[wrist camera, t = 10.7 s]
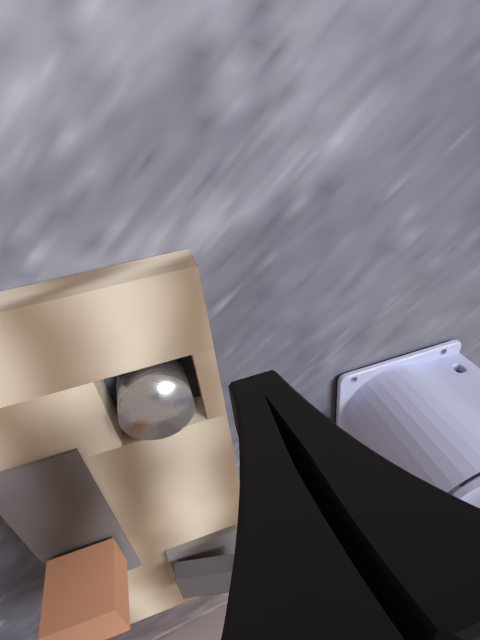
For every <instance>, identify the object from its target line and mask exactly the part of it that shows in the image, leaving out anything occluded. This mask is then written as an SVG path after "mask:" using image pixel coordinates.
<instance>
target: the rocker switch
mask: <svg viewBox="0 0 480 640" xmlns="http://www.w3.org/2000/svg"><path fill="white" fill-rule="evenodd" d="M233 562H234V554H229V555H222V556H215V557H208V558H201V559H195V560H188V561H181V562H175V575H174V580H175V582H176V584H177V587H178V589H179V591H180V593H181V595H182V597H183V599H187V598H193V597H200V596H207V595H214V594H221V593H227V592H229V590H230V583H231V576H232V569H233Z"/></svg>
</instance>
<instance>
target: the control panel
mask: <svg viewBox="0 0 480 640" xmlns="http://www.w3.org/2000/svg"><path fill="white" fill-rule="evenodd" d="M189 355H191V358H192V362H193V366H194V371H195V375H196V379H197V383H198V387H199V391H200V395H201V396H198V397H194V398H193V399H194V403H195V411H194V415H193V417H192V419H191V421H190V422H189V423H188V424H187V425H186V427H184V428H183V429H182V430H181V431H179V432H178V433H176V434H174V435H172V436H169V437H167V438H163V439H159V440H141V439H136V438H133V437H131V436H129V435H128V434H126V433H125V432H124V431H123V430H122V429H121V427H120V425H119V423H118V414H117V410H116V407H115V405H114V403H113V400H112V398H111V396H110V393H109V391H108V389H107V386H106V384H105V382H104V379H106V378H110V377H114V376H117V375H121V374H124V373H128V372H132V371H135V370H139V369H142V368H146V367H150V366H153V365H157V364H160V363H164V362H168V361H171V360H175V359H178V358H182V357H186V356H189ZM239 488H240V480H239V475H238V470H237V465H236V460H235V455H234V449H233V444H232V439H231V434H230V429H229V424H228V418H227V413H226V408H225V403H224V398H223V393H222V388H221V382H220V377H219V372H218V367H217V362H216V357H215V351H214V346H213V341H212V336H211V331H210V326H209V321H208V315H207V310H206V305H205V300H204V295H203V290H202V285H201V279H200V274H199V269H198V265H197V263H196V261H195V259H194V257H193V255H192V253H191V251H190V249H185V250H181V251H176V252H172V253H167V254H163V255H159V256H154V257H150V258H145V259H141V260H137V261H132V262H128V263H123V264H119V265H115V266H110V267H106V268H101V269H97V270H93V271H88V272H84V273H80V274H75V275H71V276H66V277H62V278H58V279H53V280H49V281H44V282H40V283H36V284H31V285H27V286H22V287H18V288H14V289H9V290H5V291H0V516H1V517H2V518H3V519H4V520H5V522H6V523H7V524H8V525H9V526H10V527H11V528H12V529H13V531H14V532H15V533H16V534H17V535H18V536H19V537H20V539H21V540H22V541H23V542H24V543H25V544H26V545H27V546H28V548H29V549H30V550H31V551H32V552H33V553H34V554H35V556H36V557H37V558H38V559H39V560H40V561H41V562H42V563H43V565H44V566H45V567H46V563H47V561H49V560H52V559H55V558H57V557H60V556H63V555H66V554H69V553H72V552H74V551H77V550H80V549H83V548H86V547H89V546H92V545H94V544H97V543H100V542H103V541H106V540H109V539H111V538H114V540H115V541H116V543H117V545H118V546H119V548H120V550H121V551H122V553H123V555H124V556H125V558H126V560H127V573H128V592H129V611H130V624H132V623H134V622H137V621H139V620H142V619H145V618H147V617H150V616H152V615H155V614H157V613H160V612H162V611H165V610H167V609H170V608H172V607H175V606H178V605H180V604H183V603H185V602H188V601H190V600H193V599H195V598H198V597H193V598H187V599H183V597H182V595H181V593H180V591H179V589H178V587H177V584H176V582H175V580H174V575H175V562H181V561H188V560H195V559H201V558H208V557H215V556H222V555H229V554H234V553H235V544H236V533H237V522H238V508H239Z"/></svg>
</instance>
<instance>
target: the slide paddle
mask: <svg viewBox="0 0 480 640" xmlns="http://www.w3.org/2000/svg"><path fill="white" fill-rule="evenodd" d="M129 630H130V611H129V592H128V573H127V560H126V558H125V556H124V555H123V553H122V551H121V550H120V548H119V546H118V545H117V543H116V541H115V540H114V538H111V539H109V540H106V541H103V542H100V543H97V544H94V545H92V546H89V547H86V548H83V549H80V550H77V551H74V552H72V553H69V554H66V555H63V556H60V557H57V558H55V559H52V560H49V561H47V563H46V572H45V582H44V591H43V600H42V609H41V618H40V627H39V636H38V640H106V639H109V638H111V637H114V636H116V635H119V634H121V633H124V632H126V631H129Z"/></svg>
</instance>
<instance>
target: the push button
mask: <svg viewBox="0 0 480 640" xmlns="http://www.w3.org/2000/svg"><path fill="white" fill-rule="evenodd" d="M116 394H117V414H118V423H119V425H120V427H121V429H122V430H123V431H124V432H125V433H126V434H128V435H129V436H131V437H133V438H136V439H141V440H159V439H163V438H167V437H169V436H172V435H174V434H176V433H178V432H179V431H181V430H182V429H183V428H184V427H186V425H187V424H188V423H189V422H190V421H191V419H192V417H193V415H194V411H195V403H194V399H193V396H192V392H191V389H190V385H189V381H188V378H187V374H186V371H185V368H184V366H183V365H182V364H181V362H180V361H178V360H177V359H175V360H171V361H168V362H164V363H160V364H157V365H153V366H150V367H146V368H142V369H139V370H135V371H132V372H128V373H124V374H121V375H118V376H117V379H116Z"/></svg>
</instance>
